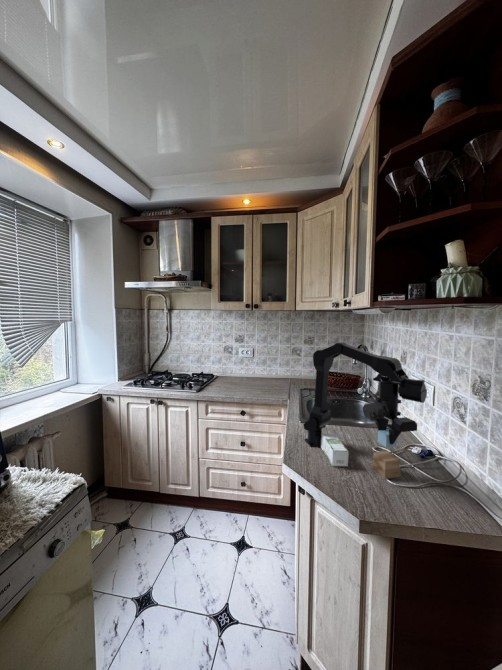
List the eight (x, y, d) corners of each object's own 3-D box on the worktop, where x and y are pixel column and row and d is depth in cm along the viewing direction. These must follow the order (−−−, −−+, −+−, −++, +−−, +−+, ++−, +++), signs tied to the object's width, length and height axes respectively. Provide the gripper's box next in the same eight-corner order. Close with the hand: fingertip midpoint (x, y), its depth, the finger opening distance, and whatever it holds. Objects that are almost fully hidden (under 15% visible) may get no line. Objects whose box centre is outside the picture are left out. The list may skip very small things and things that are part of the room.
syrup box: (348, 467, 92) (334, 447, 107) (349, 450, 92) (334, 433, 107) (332, 466, 92) (320, 447, 107) (332, 450, 92) (321, 433, 106)
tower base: (372, 469, 91) (372, 461, 91) (387, 467, 93) (387, 459, 92) (384, 479, 85) (385, 470, 85) (400, 477, 87) (400, 468, 87)
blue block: (377, 442, 90) (378, 430, 90) (387, 440, 91) (388, 429, 91) (386, 447, 86) (386, 435, 86) (396, 446, 87) (396, 434, 87)
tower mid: (373, 461, 91) (373, 452, 91) (386, 459, 92) (387, 451, 92) (385, 470, 86) (385, 461, 85) (399, 468, 87) (399, 459, 87)
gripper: (350, 389, 95) (349, 431, 96) (388, 406, 77) (386, 457, 78) (377, 388, 98) (375, 429, 98) (419, 403, 79) (417, 454, 80)
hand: (386, 441), depth 89 cm, fingers closed on blue block, 4 cm apart
